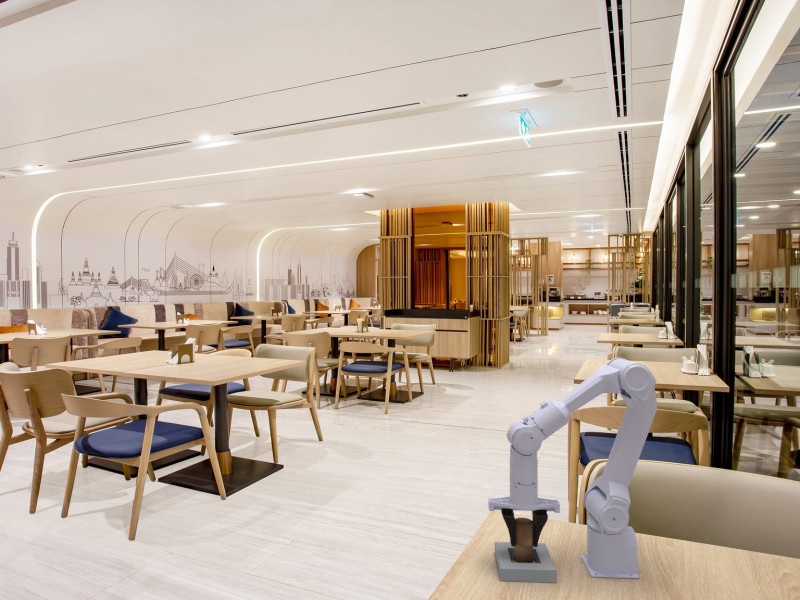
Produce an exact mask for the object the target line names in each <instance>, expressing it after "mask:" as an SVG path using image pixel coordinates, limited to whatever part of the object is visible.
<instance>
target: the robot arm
mask: <svg viewBox="0 0 800 600" xmlns="http://www.w3.org/2000/svg"><path fill="white" fill-rule="evenodd" d="M656 382H657V379H656V377H655V376H654V374H653V373H652V371H651V370H650V369H649V368H648V366H646V365H645V364H643V363H640V362H635V361H631V360H628V359H626V358H624V357H614V358H612V359H610V360H608V362H607V363H606V364H602V365H600V366H599V367H598V368H597V369H596V370H595V371H594V372H593V373H592V374H591V375H589V376H588V377H587V378H586V379H584V381H582V382H581V383H579V385H577V386H575V388H573V389H572V390H571V391H570V392H568V394H566V395H564V397H562V398H561V399H560V400H554V399H550V400H549V401H546V400H543V401H542V402H541V403H540V407H539V408H537V409H536V410H535V411H532V413H530V414H529V415H528V416H527V415H524V416H523V417H522V420H520V421H518V420H517V421H515V422H513V423H512V424H511V425H510V426H509V428H508V430H507V432H506V437H507V440H508V442H509V443H510V444H511V445H510V447H509V448H510V450H509V455H510V456H509V496H503V497H495V498H493V497H491V498H488V504H487V505H488V506H487V507H488V510H489V512H495V511H500V512H501V516H502V518H503V521H504V523H505V524H506V525H505V526H506V527H507V530H508V533H509V541H510V543H511V546H515V534H514V528H515V519H516V517H515V512H514V511H517V512H518V511H519V512H520V511H522V512H523V511H524V512H527V511H528V512H531V513H532V514H531V517H532V521H533V545H534V547H537V546H538V543H539V540H540V536H541V534H542V531H543V529H544V527H545V525H546V524H547V522H548V520H549V515H548V512H554V513H555V514H560V512H561V504H560V502H559V500H558V499H549V498H542V497H538V496H539V491H538V490H539V487H538V485H539V484H538V483H539V482H538V480H539V479H538V477H539V475H538V474H539V473H538V462H539V461H538V451H539V450H540V449H541V446H542V443H543V441H545V440H546V439H548V438H550V437H551V436H552V435H554V434H555V433H556V432H558V431H559V430H561V429H562V428H563V427H564V426H566V425H567V424H569V422H570V418H571V414H572V413H574V412H575V411H577V410H579V409H580V408H581V407H584V406H585V405H587V404H588V403H590V402H591V401H593V400H595V399H596V398H597V397H598V396H601V395H602V394H619V395H620V396H621V398H622V400H623V401H624V403H625V405H626V409H625V413H624V414H623V417H622V420H621V423H620V425H619V428H618V430H617V434H616V436H615V439H614V442H613V444H612V447H611V450H610V453H609V456H608V458H607V461H606V463H605V466H604V469H603V471H602V474H601V475H600V476H598V477H596V478H595V479H594V481H593V484H592V486H591V487H590V488H588V489H587V490H586V492H585V493H584V495H583V502H582V503H583V507H584V508H585V510H586V511H587V512H588V518H587V520H586V540H587V541H586V553H587V554H586V555H585V554H584V555H582V554H581V557H580V558H581V560H582V563H584V564H583V565H584V566H585V568H586V569H587V571H588V573H589V575H590V577H591V578H605V579H606V578H608V579H609V578H610V579H632V580H633V579H637V580H638V579H639V578H640V575H639V574H638V571H639V568H638V566H639V565H638V563H639V562H638V560H639V556H638V555H639V553H638V550H639V548H638V547H639V545H638V540H637V534H636V532H635V530H634V528H633V527H632V526H629V521H630V513H629V509H630V505H631V502H632V501H631V496H630V492H629V486H630V483H631V482H632V481H631V480H632V477H633V476H634V472H635V471H636V467H637V464H638V462H639V459H640V458H641V457H640V456H641V455H642V451H643V449H644V445H645V443H646V439H647V437H648V435H649V433H650V429H651V426H652V425H653V421H654V420H655V419H654V418H655V416H656V413H657V410H658V401H657V396H656V389H655V385H656Z"/></svg>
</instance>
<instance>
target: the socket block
mask: <svg viewBox="0 0 800 600" xmlns="http://www.w3.org/2000/svg"><path fill="white" fill-rule="evenodd" d="M494 555H495V561H496V565H497V570H498V574H499V580H500V581H501V582H519V583H520V582H522V583H523V582H524V583H525V582H526V583H545V584H546V583H553V584H556V583H557V568H556V565H555V564H554V561H553V559H552V556H551V554H550V551H549V549H548V546H547V544H546V543H544V542H543V543H540V542H538V546H537V547H534V545H533V561H535V562H533V563H517V562H512V560H514V546H511V543H510V542H509V541H506V542H505V541H494ZM514 561H515V560H514Z"/></svg>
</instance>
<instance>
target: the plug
mask: <svg viewBox="0 0 800 600" xmlns="http://www.w3.org/2000/svg"><path fill="white" fill-rule="evenodd" d="M514 534H515V546H514V561H515V563H534V560H533V519H530V518H527V517H517V518H516V517H515V528H514Z"/></svg>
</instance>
